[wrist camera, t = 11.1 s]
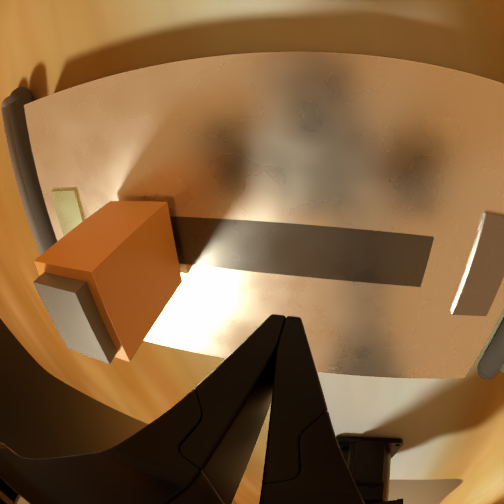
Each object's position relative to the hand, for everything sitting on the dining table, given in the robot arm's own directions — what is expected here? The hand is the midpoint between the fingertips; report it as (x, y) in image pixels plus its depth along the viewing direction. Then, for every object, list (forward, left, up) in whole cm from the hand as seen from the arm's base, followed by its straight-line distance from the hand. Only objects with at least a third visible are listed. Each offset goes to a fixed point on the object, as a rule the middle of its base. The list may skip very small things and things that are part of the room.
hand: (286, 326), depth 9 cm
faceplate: (0, +2, -6) cm, 7 cm away
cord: (0, +16, -6) cm, 17 cm away
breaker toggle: (0, +7, -4) cm, 8 cm away
